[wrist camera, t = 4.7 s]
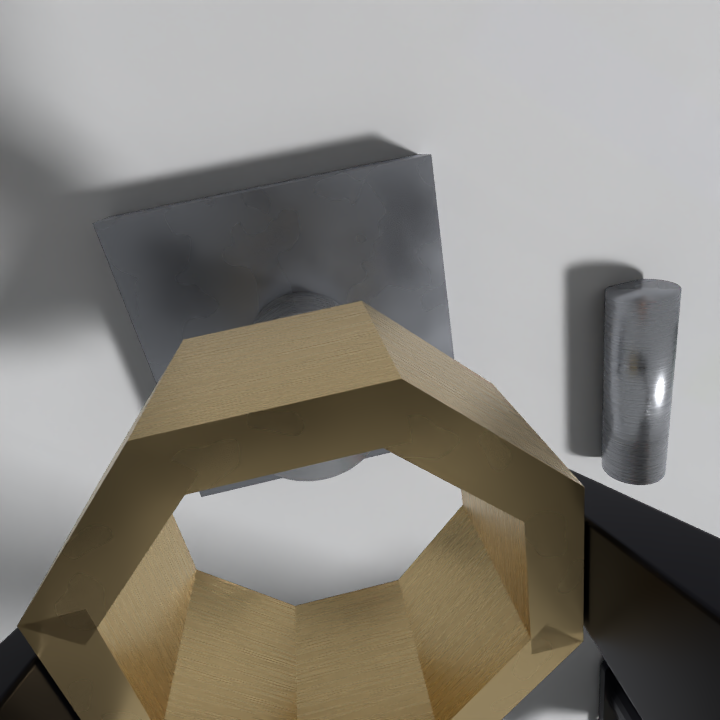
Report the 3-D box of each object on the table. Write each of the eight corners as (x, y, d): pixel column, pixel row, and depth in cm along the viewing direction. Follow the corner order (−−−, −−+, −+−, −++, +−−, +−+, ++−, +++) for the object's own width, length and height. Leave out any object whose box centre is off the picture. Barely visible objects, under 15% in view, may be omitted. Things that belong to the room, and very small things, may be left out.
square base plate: (450, 415, 20) (519, 527, 14) (207, 472, 19) (173, 613, 14) (418, 154, 16) (497, 155, 10) (109, 216, 15) (-1, 257, 9)
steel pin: (679, 475, 20) (627, 491, 20) (637, 444, 22) (589, 458, 22) (698, 289, 17) (636, 306, 17) (647, 275, 19) (591, 289, 19)
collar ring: (508, 579, 11) (582, 723, 8) (194, 659, 10) (161, 837, 8) (483, 274, 8) (586, 336, 5) (52, 367, 8) (-78, 486, 5)
